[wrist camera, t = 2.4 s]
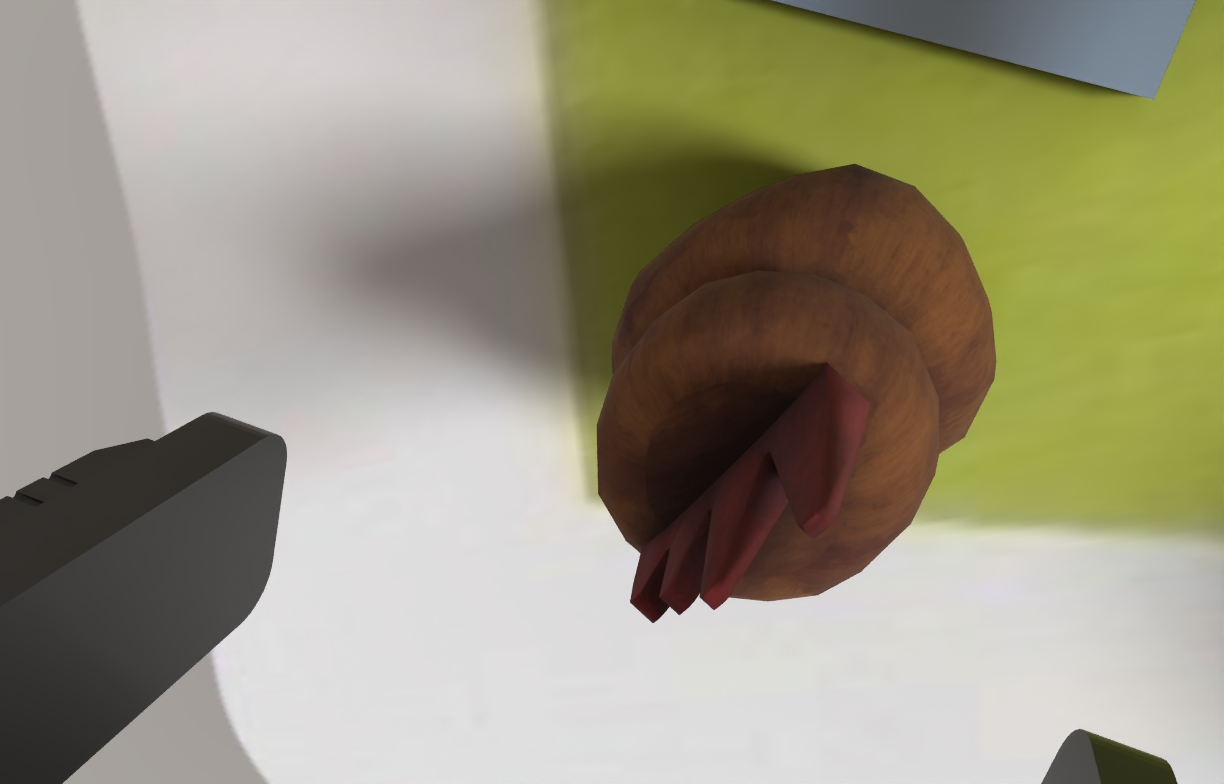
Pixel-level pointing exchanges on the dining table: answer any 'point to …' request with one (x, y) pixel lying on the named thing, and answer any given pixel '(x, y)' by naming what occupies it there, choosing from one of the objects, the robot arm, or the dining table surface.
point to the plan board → (1040, 33)
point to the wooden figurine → (789, 388)
